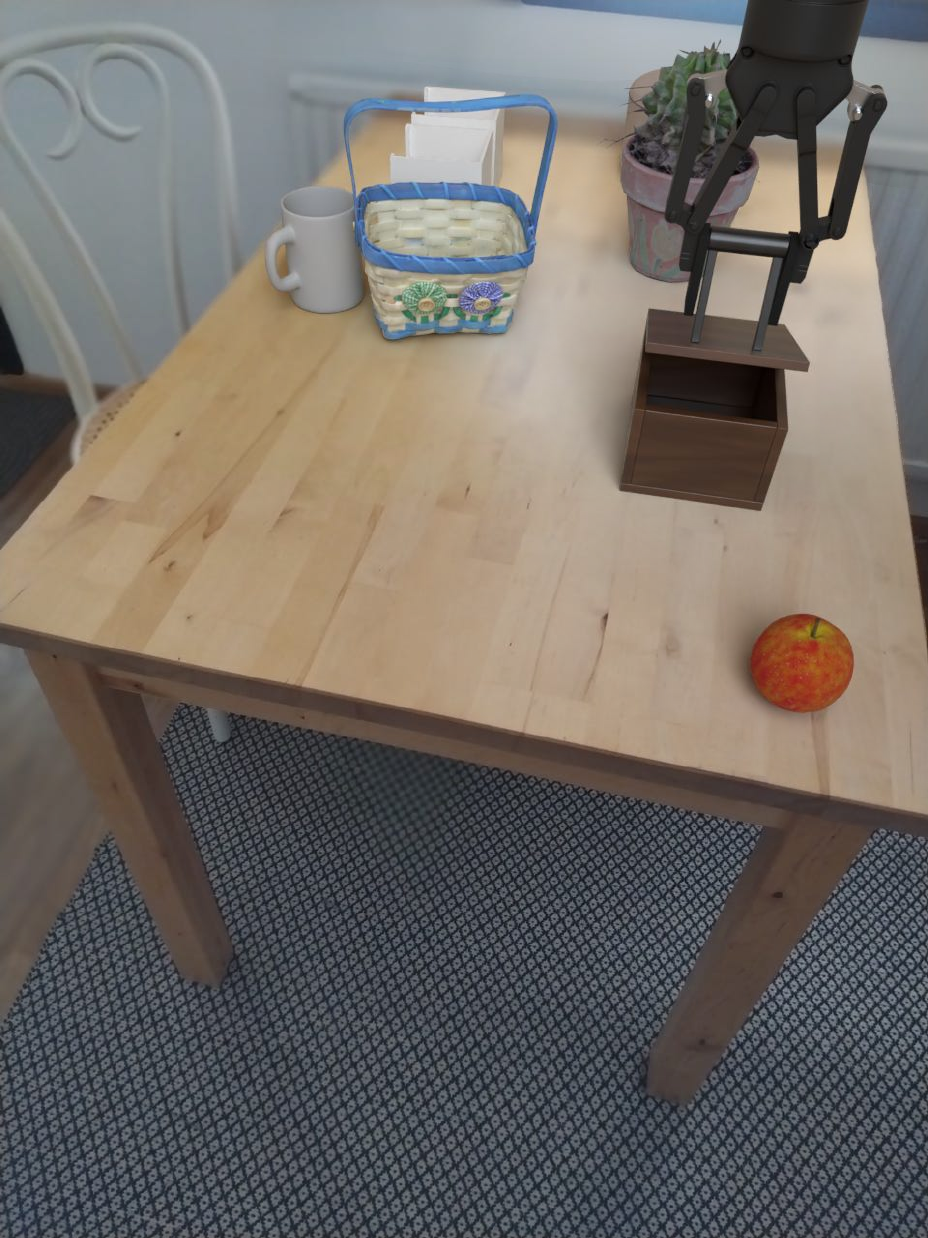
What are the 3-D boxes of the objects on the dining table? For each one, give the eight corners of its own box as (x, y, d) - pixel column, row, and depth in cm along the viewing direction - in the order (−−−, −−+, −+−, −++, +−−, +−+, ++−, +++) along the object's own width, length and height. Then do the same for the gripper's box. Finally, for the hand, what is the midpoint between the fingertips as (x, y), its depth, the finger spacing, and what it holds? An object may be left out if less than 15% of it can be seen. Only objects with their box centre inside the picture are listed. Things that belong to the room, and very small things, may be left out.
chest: (761, 511, 83) (788, 429, 77) (619, 490, 85) (634, 408, 78) (758, 412, 94) (782, 332, 87) (632, 395, 95) (646, 316, 89)
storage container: (479, 254, 116) (482, 163, 108) (393, 247, 117) (389, 156, 109) (501, 175, 133) (505, 91, 125) (426, 169, 134) (425, 86, 126)
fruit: (840, 738, 66) (879, 666, 60) (742, 724, 67) (771, 652, 61) (830, 665, 71) (865, 592, 65) (738, 653, 72) (765, 579, 66)
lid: (807, 372, 73) (841, 242, 68) (644, 352, 74) (667, 223, 70) (782, 332, 87) (809, 223, 83) (646, 316, 89) (665, 208, 84)
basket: (363, 367, 98) (347, 131, 81) (352, 291, 109) (335, 69, 92) (554, 354, 101) (577, 122, 83) (524, 281, 112) (539, 63, 94)
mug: (332, 271, 112) (324, 178, 104) (379, 296, 108) (374, 201, 100) (252, 305, 106) (237, 209, 98) (298, 333, 102) (286, 235, 94)
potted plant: (565, 239, 120) (588, 15, 101) (704, 225, 123) (750, 7, 105) (614, 307, 108) (650, 69, 89) (766, 290, 111) (831, 57, 93)
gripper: (958, -26, 61) (845, 303, 77) (666, -46, 63) (618, 278, 80) (979, 4, 55) (853, 349, 72) (660, -19, 58) (610, 321, 75)
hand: (730, 311), depth 76 cm, fingers closed on lid, 6 cm apart
